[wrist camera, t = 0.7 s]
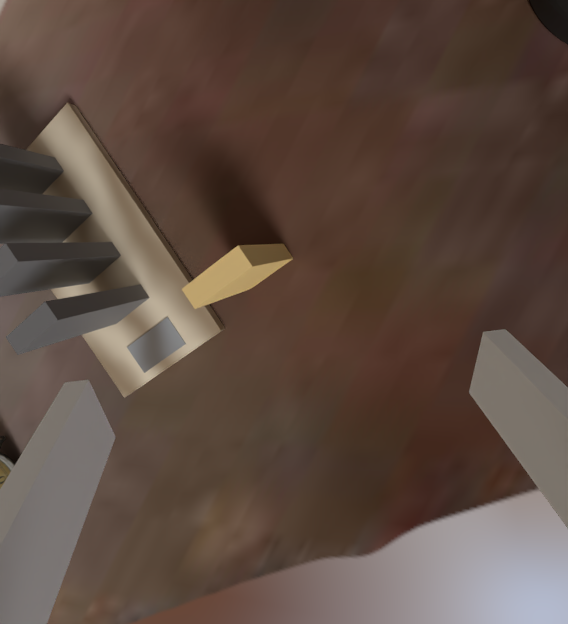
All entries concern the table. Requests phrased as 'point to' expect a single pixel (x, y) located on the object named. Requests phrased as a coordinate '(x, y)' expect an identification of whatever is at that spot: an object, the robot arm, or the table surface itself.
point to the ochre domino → (236, 273)
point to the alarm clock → (4, 465)
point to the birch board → (124, 260)
